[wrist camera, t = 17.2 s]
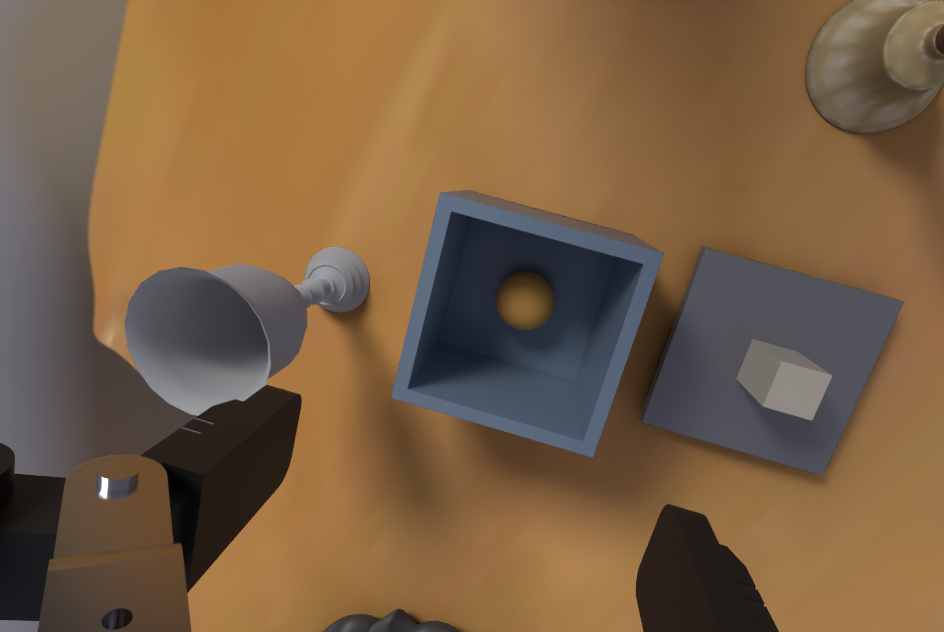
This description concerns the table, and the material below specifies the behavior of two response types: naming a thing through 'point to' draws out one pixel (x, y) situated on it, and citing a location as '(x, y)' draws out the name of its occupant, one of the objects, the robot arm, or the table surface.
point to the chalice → (231, 325)
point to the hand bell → (877, 63)
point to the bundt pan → (387, 624)
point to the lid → (767, 360)
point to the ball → (525, 300)
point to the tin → (524, 351)
